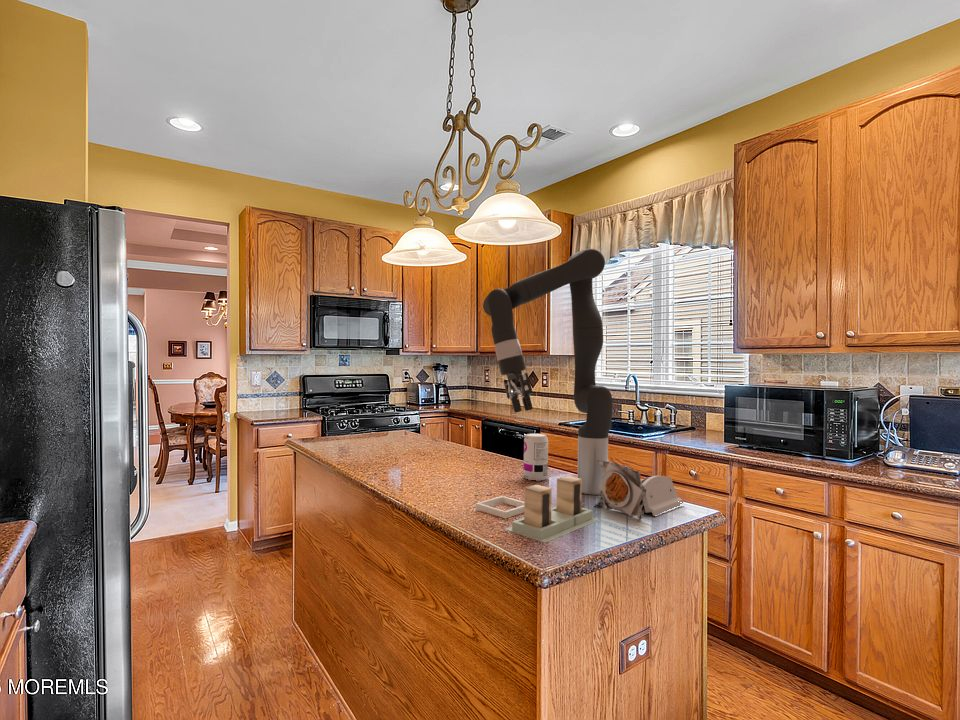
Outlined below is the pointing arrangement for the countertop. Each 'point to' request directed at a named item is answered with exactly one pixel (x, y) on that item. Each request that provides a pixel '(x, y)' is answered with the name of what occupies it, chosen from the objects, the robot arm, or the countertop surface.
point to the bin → (488, 504)
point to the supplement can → (535, 457)
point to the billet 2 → (569, 495)
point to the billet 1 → (537, 506)
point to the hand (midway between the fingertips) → (523, 411)
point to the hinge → (659, 495)
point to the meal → (621, 489)
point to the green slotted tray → (554, 525)
